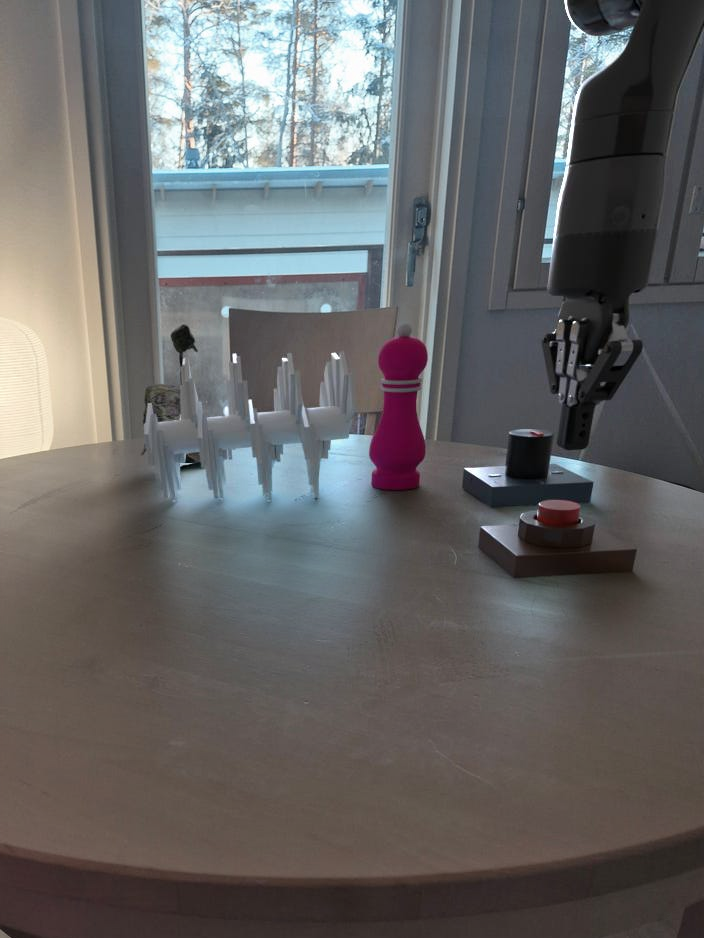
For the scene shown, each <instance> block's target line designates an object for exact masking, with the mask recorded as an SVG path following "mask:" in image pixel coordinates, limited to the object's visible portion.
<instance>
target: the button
mask: <svg viewBox="0 0 704 938" xmlns="http://www.w3.org/2000/svg"><path fill="white" fill-rule="evenodd" d="M581 508H582V506H581V505H580V503H575V502H571V501H565V500H546V501H542V502H540V503H539V505H538V508H537V510H538V513H537V520H536V521H538V522H542V523H545V524H550V525H561V526H563V525H576V524H578V520H579V514H580V513H581Z"/></svg>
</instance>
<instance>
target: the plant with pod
mask: <svg viewBox="0 0 704 938" xmlns="http://www.w3.org/2000/svg"><path fill="white" fill-rule="evenodd" d="M170 340H171V342H172V343H173V347H174V350H175V351H176V352H177V353H179V354H178V355H179V357H178V360H179V378H180V379H179V381H180V386H181V385H182V382H181V369H180V367H181V366H182V364H183V359H184V356H183V355H184V353H185V352H187V351H189V350H193V351H194V352H195V353H197V352H198V351H199V350H198V348H197V346H196V345H195V343H196V339H195V337H194V335H193V333H192V331H191V329H190V327H189V326H188V325H187V324H185V323H184V324H181V325H180V326H178V327H177V328H175V329H174V330H173V331H172V332H171V333H170ZM180 386H175V385H170V384H164V383H153V384H149V385H148V386H147V387H146V388H145V393H144V405H145V406H144V407H145V408H144V411H143V420H142V425H143V426H144V424H145V423H146V414H147V406H148V403H152V407H153V414H156V416H157V420H158V422H164V421H175V420H179V418H180V414H181V402H180ZM146 452H147V451H146V446H145V444H144V445H143V448H142V450H141V452H140V456H143V455H145V453H146ZM185 463H194V464H196V463H201V459H200V452H193V453H189V454H186V458H185Z"/></svg>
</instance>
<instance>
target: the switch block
mask: <svg viewBox="0 0 704 938" xmlns="http://www.w3.org/2000/svg"><path fill="white" fill-rule="evenodd" d="M537 513H538V509H532V510H529V511H525V512H522V513H521V515H520V517H519V519H518V524H502V525H483V526H482V525H481V526H480V527H479V535H478V544H477V547H478V548H479V549H480V551H482V552H483V553H484V554H485V555H486V556H488V557H489V558H490V559H491V560H492V561H493V562H494V563H496V565H498V566H499V567H500V568H501V569H502V570H504V571H505V572H506V573H507V574H508V575H509V576H510V577H512V578H513V579H526V578H542V577H562V576H581V575H597V574H598V575H600V574H614V573H616V574H618V573H632V572H633V570H634V565H635V561H636V556H637V552H638V551H637V550H638V549H637V548H635V547H634V546H632V545H630V544H628V543H627V542H625V541H624V540H622V539H620V538H618V537H616V536H615V535H613V534H611V533H610V532H608V531H606V530H604V529H602V528H601V527H599V526H597V525H596V522H597V519H595V518H593V517H592V516H590V515H588V514H586V513H582V512H580V514H579V520H578V524H576V525H563V526H561V525H550V524H545V523H542V522H538V521H536V520H537Z"/></svg>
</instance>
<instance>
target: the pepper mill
mask: <svg viewBox="0 0 704 938" xmlns="http://www.w3.org/2000/svg"><path fill="white" fill-rule="evenodd" d="M412 332H413V327H412V325H411V324H410V323H409V322H401V323H400V324H398V326H397V328H396V333H397V335H398V336H395V337H393V338H391V339H389V340H387V341H385V343H384V344H383V345H382V346H381V348H380V350H379V353H378V359H377V362H378V368H379V370H380V371H381V373H382V374H383V378H381V380H380V382H381V387H380V390H381V391H382V392H383V406H382V407H383V408H382V413H381V416H380V420H379V422H378V425H377V426H376V429H375V431H374V433H373V435H372V438H371V440H370V444H369V449H368V457H369V460H370V461H371V463H373V465H374V466H375V467H376V468H375V469H373V470H372V472H371V482H370V483H371V484H370V485H372V487H374V488H376V489H380V490H386V491H406V490H407V491H408V490H412V489H416V488H418V487H419V485H420V481H421V480H420V478H421V471H419V470H418V469H417V468H418V467H419V465H420V464H421V463H422V462H423V460H424V459H425V457H426V441H425V436H424V433H423V429H422V427H421V425H420V422H419V417H418V412H417V400H418V392H419V391H421V390H422V386H421V385H422V383H421V382H423V378H421V377H420V376H421V374H422V372H423V371H424V370H425V369H426V367H427V365H428V360H429V353H428V349H427V346H426V345H425V343H424V342H423V341H422V340H421V339H419V338H417V337H415V336H411V334H412Z"/></svg>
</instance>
